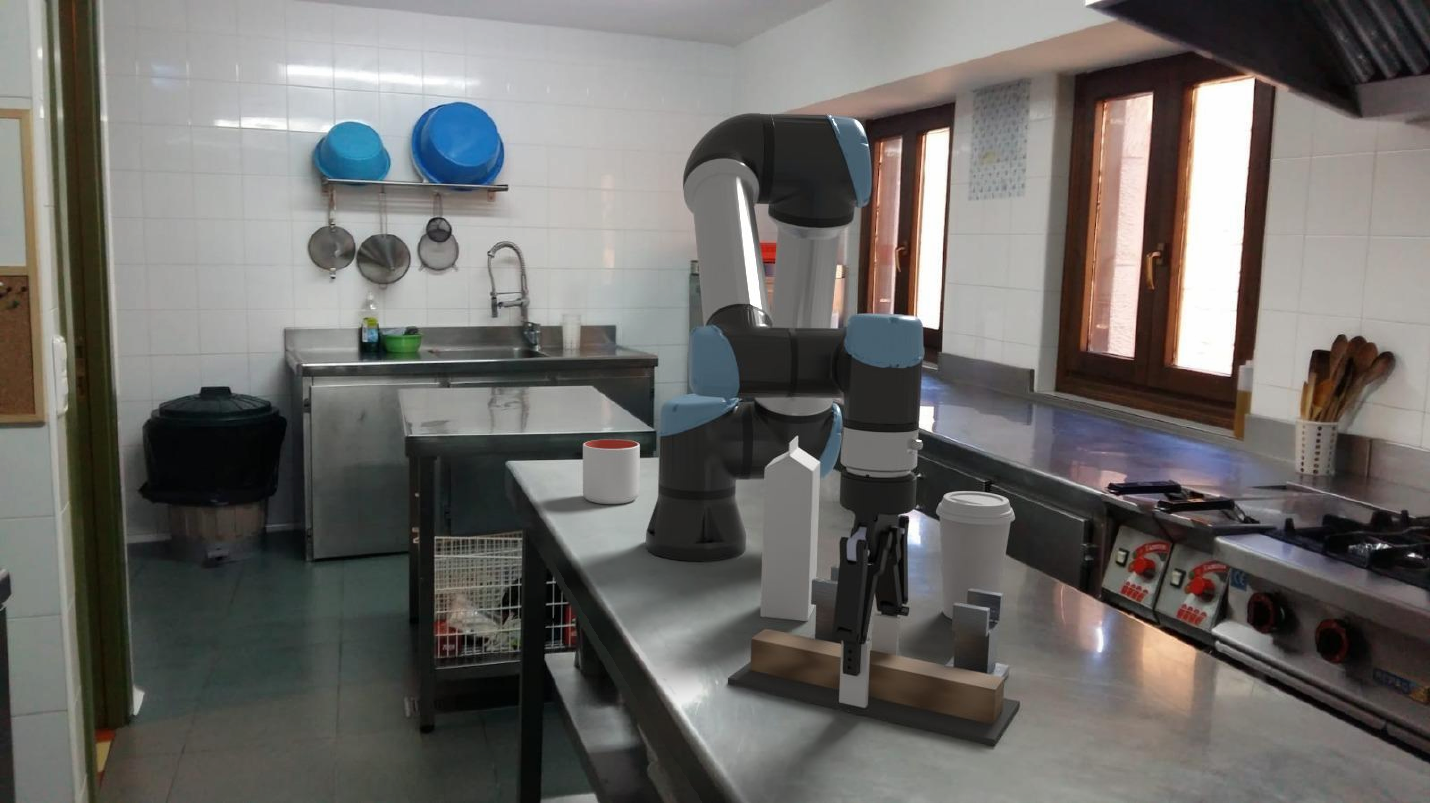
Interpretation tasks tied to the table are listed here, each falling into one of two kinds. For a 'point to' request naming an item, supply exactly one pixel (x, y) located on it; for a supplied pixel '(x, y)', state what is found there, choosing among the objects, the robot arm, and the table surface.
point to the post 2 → (978, 633)
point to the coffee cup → (972, 543)
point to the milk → (790, 534)
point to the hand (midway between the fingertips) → (869, 688)
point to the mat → (879, 707)
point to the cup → (611, 471)
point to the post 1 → (825, 605)
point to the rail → (883, 676)
